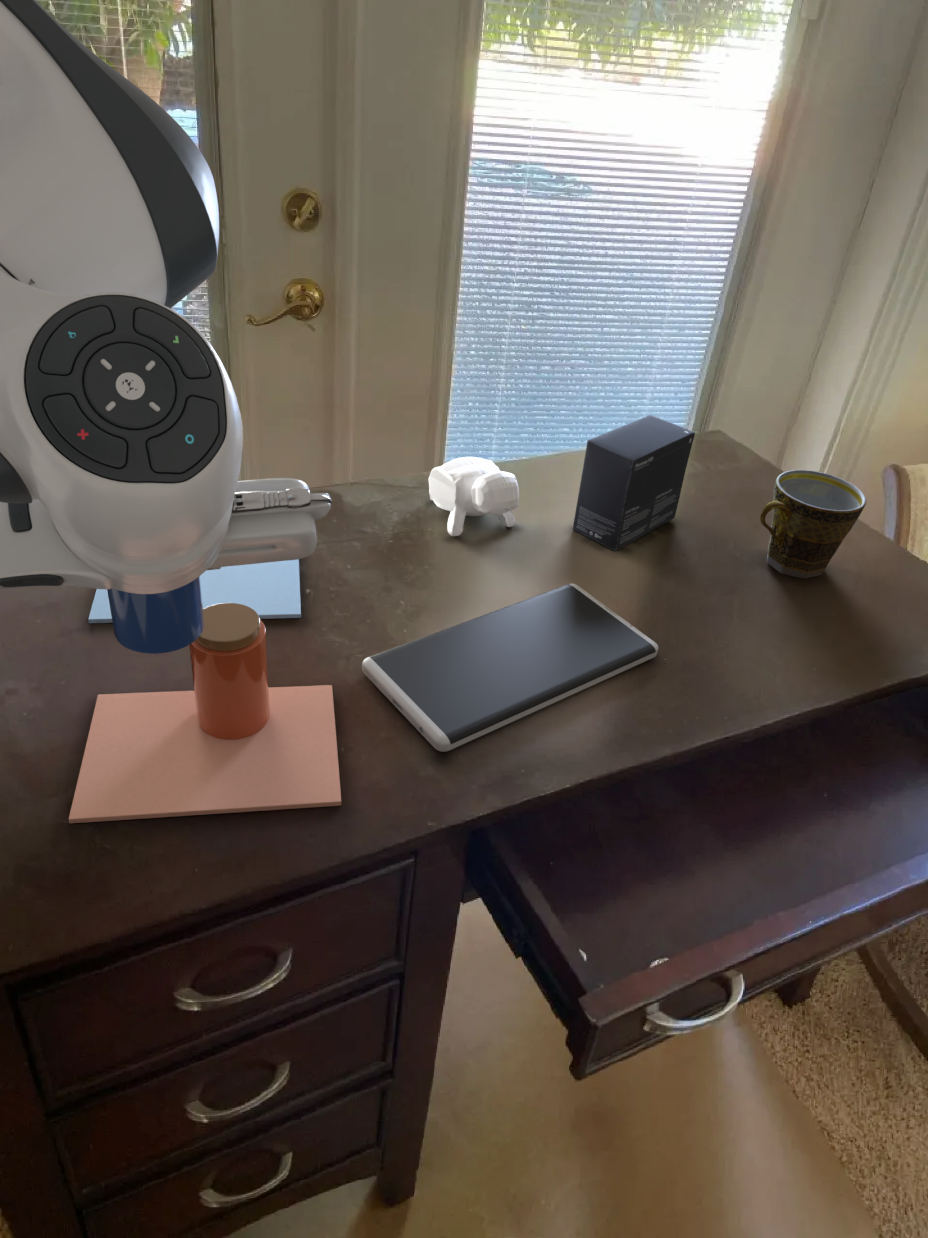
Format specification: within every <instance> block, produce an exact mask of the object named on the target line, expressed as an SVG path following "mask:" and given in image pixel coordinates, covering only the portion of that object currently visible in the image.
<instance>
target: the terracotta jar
mask: <svg viewBox="0 0 928 1238" xmlns="http://www.w3.org/2000/svg"><path fill="white" fill-rule="evenodd" d="M203 616H204V629H203V631H202V633H201V635H200V636H199V637H198V638H197V639H196V640H195V641H194V642H193V643H191V644H190V645H188V648H189V658H190V666H191V675H192V684H193V691H194V694H195V702H196V711H197V720H198V724H199V726H200V727H201V729H202V730H203V731H204V732H205V733H207V734H208V735H210V736H213V737H215V738H219V739H226V740H234V739H241V738H245V737H248V736H251V735H253V734H255V733H257V732H258V731H260V730H261V729H262V728H263V727H264V726H265V725H266V723H267V721H268V720H269V716H270V707H269V688H270V687H269V671H268V670H269V669H268V648H267V629H266V626H265V625H266V624H264V622H263V621H262V619H260V618H259V615H258V614H257V613H256V611H254V610H253V609H252V608H250V607H248V606H245V605H242V604H237V603H221V604H216V605H212V606H209V607H207V608H205V609H203Z"/></svg>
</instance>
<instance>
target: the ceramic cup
mask: <svg viewBox="0 0 928 1238" xmlns="http://www.w3.org/2000/svg"><path fill="white" fill-rule="evenodd" d="M774 483H775V484H774V488H773V496H772V497H773V498H772V501H769V502H768V503H767V504H766V505H765V506H764V508H763V509H762V511H761V513H760V516H759V520H760V523H761V525H762V526H763V527H764V528H766V530H768V532H769V534H770V535H769V541H768V548H767V556H766V563H767V564H768V565H769V566H771V567H772V568H773V569H775V570H776V571H777V572H778V573H780V574H782V575H786V576H791V577H794V578H799V579H803V580H804V579H810V578H813V577H818V576H820V575H822V574H823V573H824V572H825V570H826V568H827V567H828V565H829V563H830V562H831V561H832V558H833V557H834V556H835V554H836V553H837V551H838V549H839V548H840V546H841V544H842V543H843V541H844V539H845V538H846V536H848V534H849V533H850V531H851V530H852V528H853V527H854V525H855V524H856V522H857V521H858V519H859V518H860V516H861V514H862V512H863V510H864V509H865V507H866V505H867V498H866V495H865V493H863V491H862V490H860V488H858V487H857V486H856V485H855V484H853V483H851V482H850V481H847V480H845V479H844V478H841V477H838V476H836V475H832V474H829V473H827V472H826V473H825V472H821V471H816V470H810V469H809V470H808V469H794V470H787V471H784V472H782V473H779V475H778V476H777V477H776V479H775V482H774ZM771 511H772V514H771V515H772V516H771V517H772V520H771V525H769V524H768V523H767V522H766V517H767V515H768V514H769V512H771Z"/></svg>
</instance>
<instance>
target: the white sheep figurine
mask: <svg viewBox="0 0 928 1238" xmlns="http://www.w3.org/2000/svg"><path fill="white" fill-rule="evenodd" d="M427 480H428V488H429V489H428V494H429V501H432V502H433V503H434V504H435V505H436V507H437V508H440V509H442V510H445V511H448V512H449V515H448V518H447V525H446V530H447V533H448V534H449V536H451V537H458V536H460V535H461V534H462V533H463V532H464V522H465V520H466V517H467V516H468V517H480V516H481V517H482V516H484V515H487V514H489V515H493V516H498V518H499V519H498V520H499V521H500V522H501V524H502V525H504V527H508V528H512V527H515V525H516V519H515V516H514V514H513V513H512V511H513V510H516V509H517V508H518V507H519V500H520V487H519V484H518V478H517V477H516V476H515V474H514V473H512V472H508V471H504V470H503V471H502V470H500V468H499V466H498V465H496V464H495V462H493V460H492V459H485V458H483V457H476V456H462V457H458V458H457V457H456V458H455V459H452V460H450V461H448V462H446V463H444V464H442V465H440V466H435V467H433V468H432V469H431V471H430V473H429V476H428V478H427Z"/></svg>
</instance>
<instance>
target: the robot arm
mask: <svg viewBox="0 0 928 1238" xmlns="http://www.w3.org/2000/svg"><path fill="white" fill-rule="evenodd" d="M215 183H216V182H215V179H214V176H213V173H212V170H211V168H210V166H209V164H208V161H207V160H206V159H205V157H204V154H203V153H202V152H201V150H200V149H199V147H198V146H197V144H196V143H195V142H194V140H193V139H192V138H191V136H190V135H189V134H188V133H187V132H186V131H185V129H184V128H183V127H182V126H181V125H180V124H179V123H178V122H177V121H176V120H175V118H174V117H172V116H171V114H169V113H168V112H167V111H166V110H165V109H164V108H163V107H162V106H160V105H159V104H158V102H156V101H155V100H154V99H153V98H151V97H150V96H149V95H148V94H147V93H145V92H144V90H142V89H141V88H139V87H138V86H137V85H136V84H135V83H133V82H132V81H130V80H129V79H128V78H126V77H125V76H124V75H123V74H121V73H120V72H119V71H118V70H116V69H115V68H113V67H112V66H111V65H110V64H109V63H107V62H106V61H104V60H103V59H102V58H101V57H99V56H98V55H97V54H95V52H93V51H92V50H90V48H88V47H87V46H86V45H84V44H83V43H82V42H81V41H80V40H79V39H77V38H76V37H75V36H74V35H73V34H71V32H69V30H68V29H66V28H65V27H64V26H63V25H62V24H61V23H60V22H59V21H58V20H56V19H55V17H53V16H52V14H51V13H49V12H48V10H47V9H46V8H44V6H42V5H41V4H40V3H39V2H38V1H37V0H0V590H8V589H17V588H18V589H19V588H27V587H59V586H73V587H80V588H89V589H96V590H97V589H111V588H114V589H116V590H120V591H124V592H128V593H135V594H156V593H163V592H167V591H171V590H174V589H177V588H180V587H182V586H184V585H187V584H188V583H190V582H192V581H194V580H195V579H196V578H198V577H199V576H200V575H202V574H203V573H204V572H205V571H206V570H215V569H221V567H228V566H238V565H248V564H258V563H268V562H278V561H288V560H297V559H299V560H300V559H304V558H307V557H309V556H311V555H313V554H314V553H315V552H316V548H317V546H318V545H317V544H318V535H317V528H316V521H317V520H320V519H322V518H324V517H326V516H327V515H328V514H329V512H330V511H331V509H332V504H333V500H332V498H331V496H330V494H329V493H327V492H316V493H315V492H314V493H311V490H310V486H309V485H308V484H307V483H306V482H304V480H301V479H298V478H291V477H290V478H289V477H273V478H261V479H260V478H259V479H247V480H245V479H244V480H240V474H241V469H242V468H241V467H242V460H243V451H244V450H243V449H244V430H243V429H244V428H243V421H242V414H241V410H240V406H239V402H238V398H237V395H236V392H235V389H234V386H233V384H232V381H231V379H230V377H229V374H228V372H227V370H226V368H225V365H224V364H223V362H222V360H221V358H220V356H219V355H218V353H217V352H216V350H215V348H214V347H213V345H212V344H211V343H210V341H209V340H208V339H207V337H206V336H205V335H204V333H202V332H201V330H200V329H199V328H197V326H195V325H194V324H193V323H192V322H191V321H190V320H188V319H187V317H185V316H183V315H182V314H180V313H179V312H177V311H175V310H174V309H172V308H173V307H174V306H176V305H177V304H178V303H179V302H181V301H182V300H183V299H185V298H186V297H187V296H188V295H189V294H191V293H192V292H194V290H196V289H197V288H198V287H199V286H200V285H202V284H203V283H204V282H206V281H207V280H209V278H210V277H211V276H212V275H213V273H215V270H216V267H217V262H218V255H219V242H220V212H219V210H220V209H219V203H218V195H217V189H216V184H215Z"/></svg>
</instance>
